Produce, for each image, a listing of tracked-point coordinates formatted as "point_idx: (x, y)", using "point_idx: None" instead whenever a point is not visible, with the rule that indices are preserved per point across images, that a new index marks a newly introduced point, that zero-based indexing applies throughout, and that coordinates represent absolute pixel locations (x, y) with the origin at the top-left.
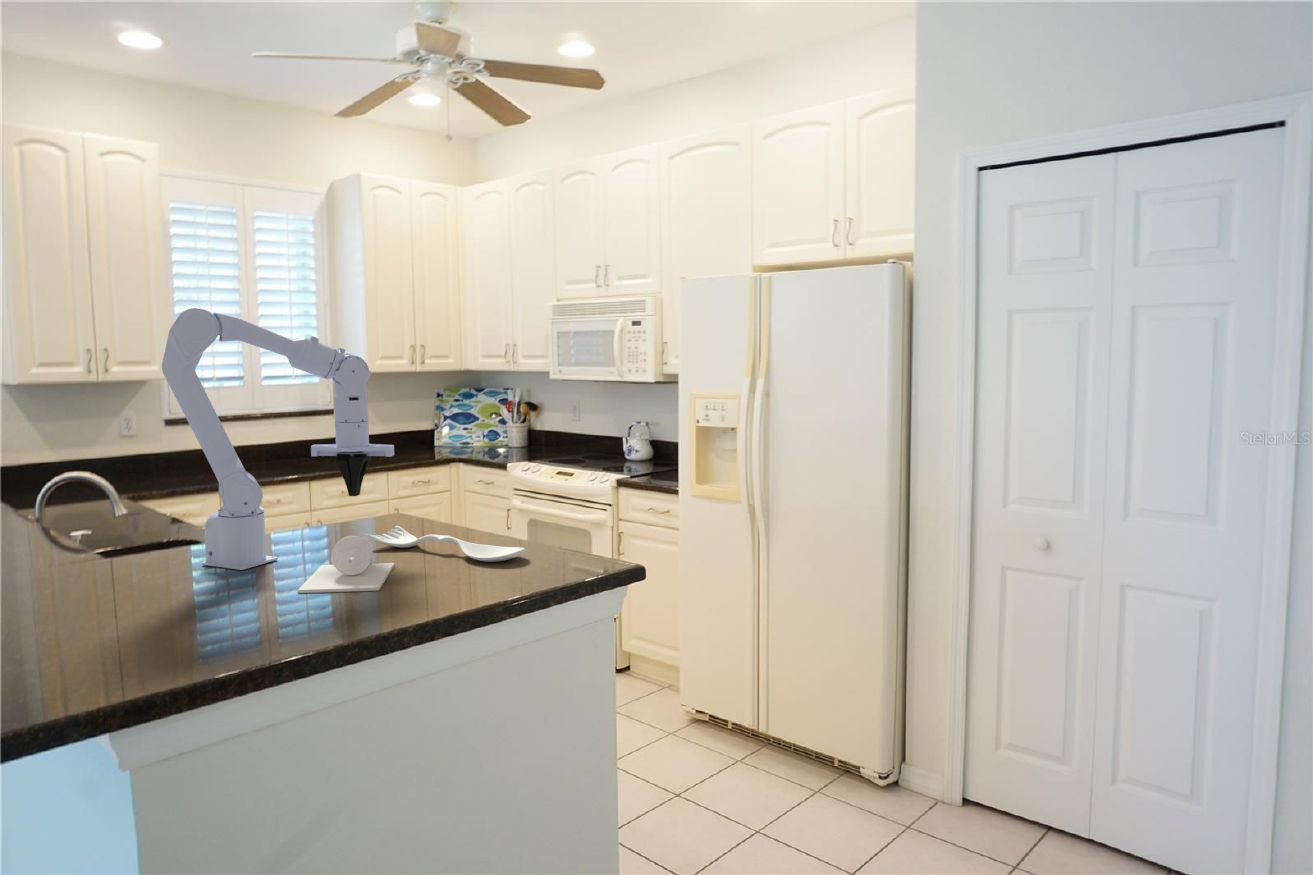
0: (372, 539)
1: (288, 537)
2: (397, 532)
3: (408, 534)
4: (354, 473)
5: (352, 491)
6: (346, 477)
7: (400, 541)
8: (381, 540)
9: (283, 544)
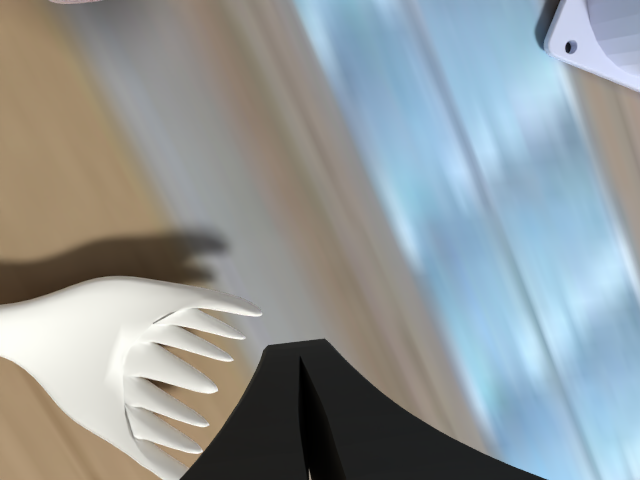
0: (213, 291)
1: (622, 409)
2: (162, 432)
3: (107, 427)
4: (250, 464)
5: (291, 351)
6: (365, 414)
7: (108, 344)
8: (166, 290)
9: (606, 310)
